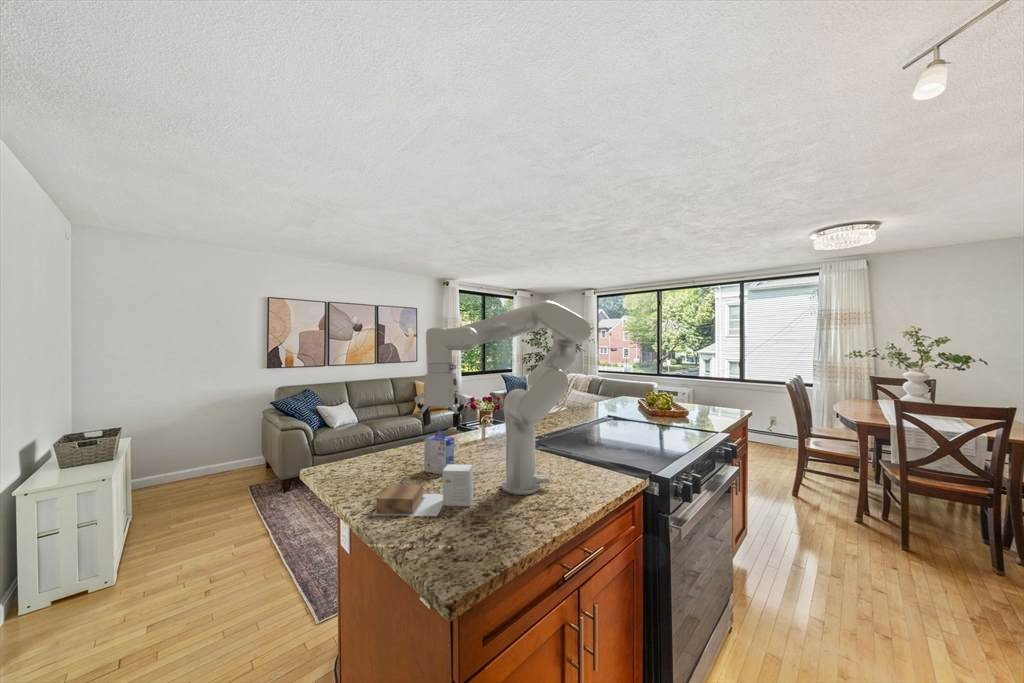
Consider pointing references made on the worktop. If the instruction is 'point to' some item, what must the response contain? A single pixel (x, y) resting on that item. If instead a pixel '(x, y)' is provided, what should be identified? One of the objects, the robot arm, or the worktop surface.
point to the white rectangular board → (424, 506)
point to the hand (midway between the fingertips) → (441, 425)
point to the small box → (457, 485)
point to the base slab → (399, 498)
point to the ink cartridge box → (438, 452)
